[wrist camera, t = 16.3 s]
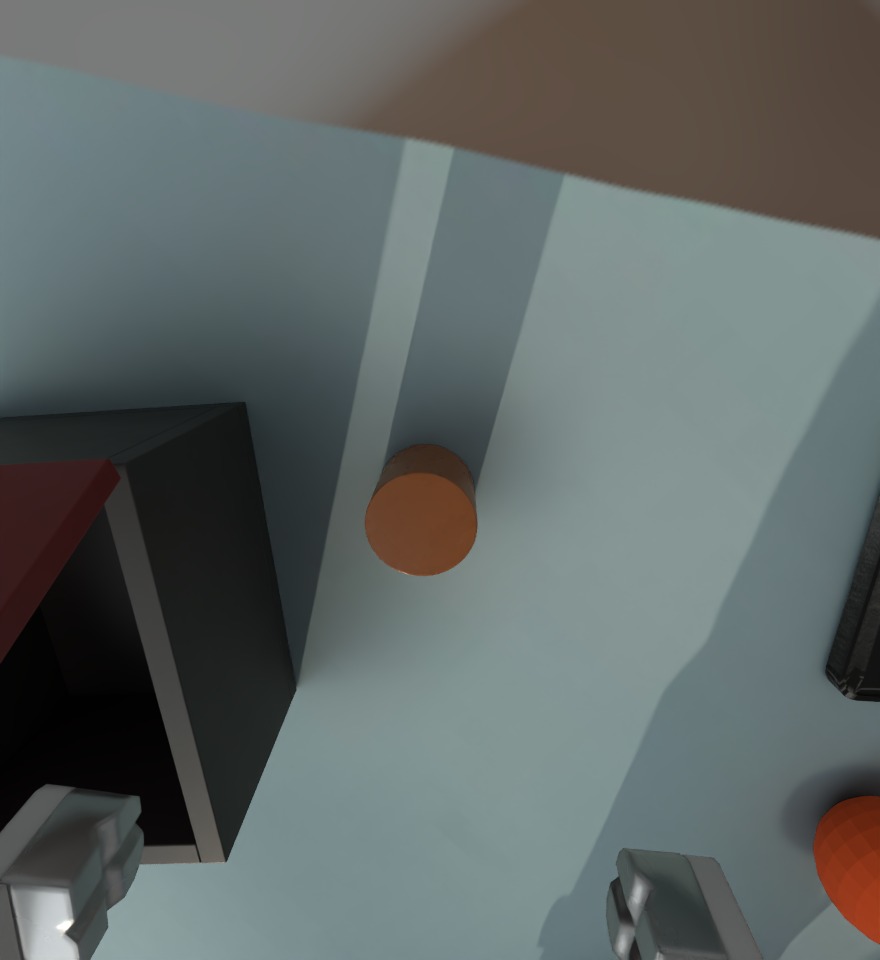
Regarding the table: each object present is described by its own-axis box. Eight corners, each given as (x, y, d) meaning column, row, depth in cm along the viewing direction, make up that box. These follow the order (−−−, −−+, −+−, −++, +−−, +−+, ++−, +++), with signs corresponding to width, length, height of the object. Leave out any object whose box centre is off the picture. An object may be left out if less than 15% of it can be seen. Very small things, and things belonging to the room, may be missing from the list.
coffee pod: (448, 548, 28) (446, 593, 24) (363, 510, 28) (347, 548, 24) (490, 469, 27) (497, 502, 23) (403, 427, 26) (393, 453, 22)
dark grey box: (296, 689, 31) (226, 863, 22) (68, 698, 32) (-97, 871, 22) (245, 401, 26) (125, 463, 17) (-24, 419, 27) (-287, 488, 17)
